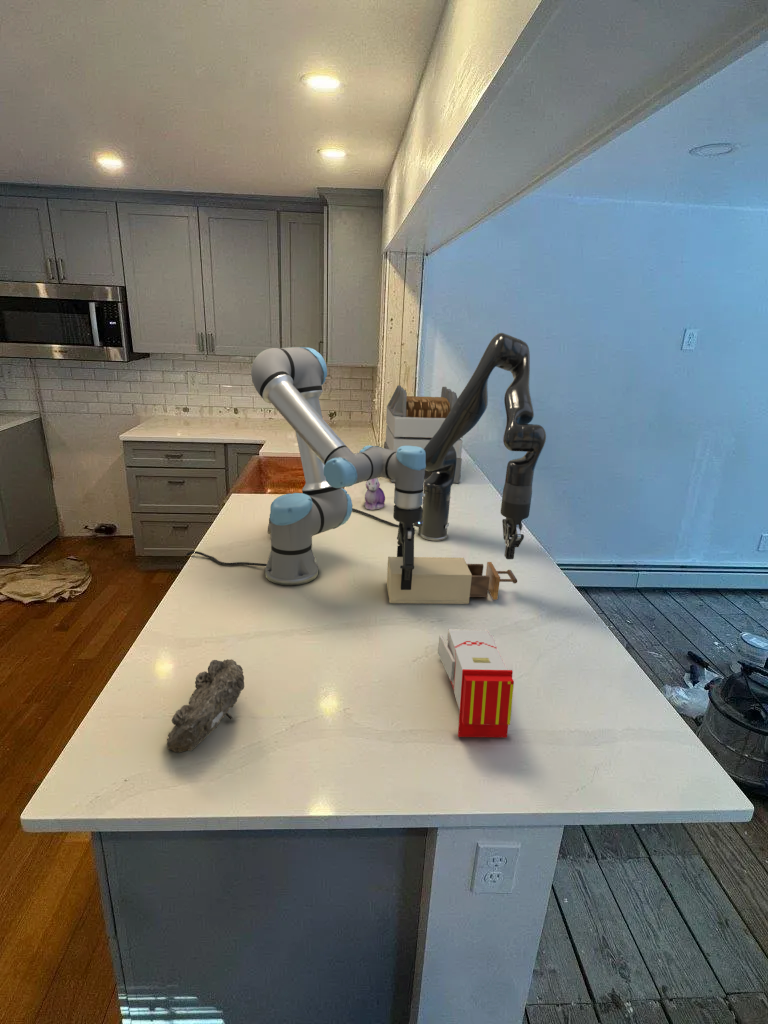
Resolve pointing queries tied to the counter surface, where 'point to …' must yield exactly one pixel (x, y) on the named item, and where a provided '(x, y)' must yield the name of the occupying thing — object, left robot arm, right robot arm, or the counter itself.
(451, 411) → the right robot arm
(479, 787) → the counter surface
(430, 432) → the transformer
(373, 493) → the figurine
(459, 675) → the toy
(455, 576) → the cabinet
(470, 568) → the drawer
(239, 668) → the fossil
